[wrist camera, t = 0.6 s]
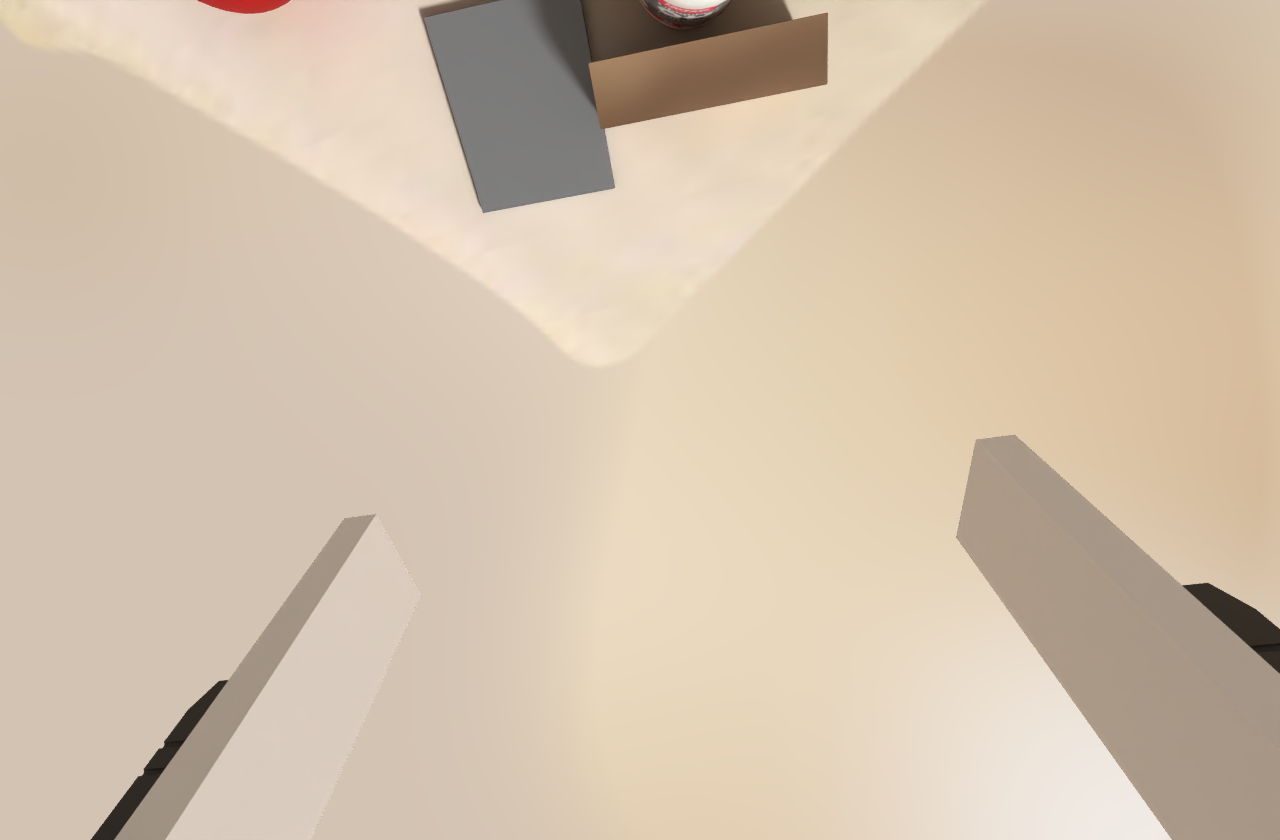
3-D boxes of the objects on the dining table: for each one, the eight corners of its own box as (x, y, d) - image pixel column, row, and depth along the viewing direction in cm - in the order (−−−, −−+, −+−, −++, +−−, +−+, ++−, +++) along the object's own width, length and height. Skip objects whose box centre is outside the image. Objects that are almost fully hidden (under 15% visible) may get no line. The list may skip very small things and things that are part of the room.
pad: (426, 18, 26) (423, 17, 25) (577, -16, 25) (576, -18, 25) (485, 211, 30) (483, 212, 30) (615, 187, 30) (614, 188, 29)
